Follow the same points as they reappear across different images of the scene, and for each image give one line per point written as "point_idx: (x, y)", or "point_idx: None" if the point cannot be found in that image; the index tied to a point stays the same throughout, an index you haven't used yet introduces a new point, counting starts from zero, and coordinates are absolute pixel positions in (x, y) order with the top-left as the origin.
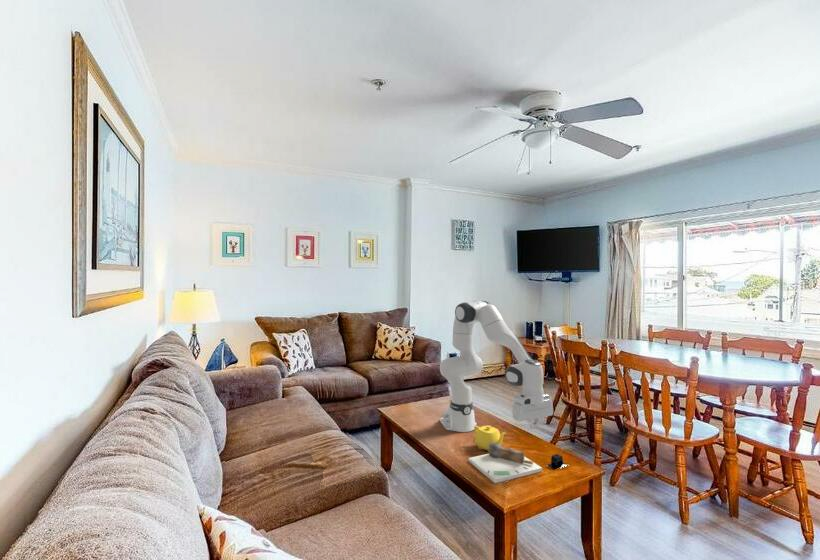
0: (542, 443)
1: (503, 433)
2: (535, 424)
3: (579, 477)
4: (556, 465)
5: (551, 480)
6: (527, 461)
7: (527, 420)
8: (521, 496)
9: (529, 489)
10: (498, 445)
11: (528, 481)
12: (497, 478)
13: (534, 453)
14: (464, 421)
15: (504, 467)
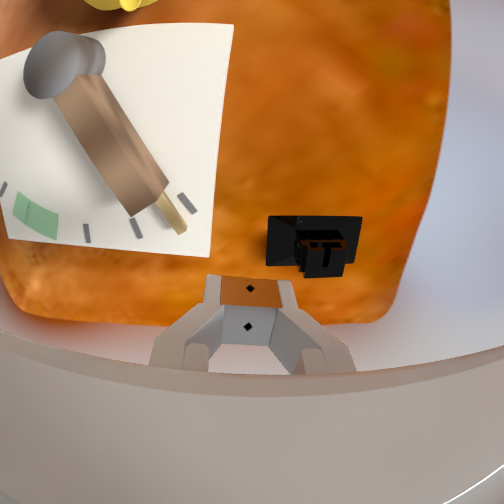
0: (441, 75)
1: (120, 2)
2: (257, 344)
3: None
4: (295, 259)
5: (193, 303)
6: (163, 213)
7: (159, 336)
8: (60, 310)
9: (92, 302)
10: (60, 76)
11: (112, 273)
12: (15, 237)
13: (327, 107)
14: None
15: (60, 182)
